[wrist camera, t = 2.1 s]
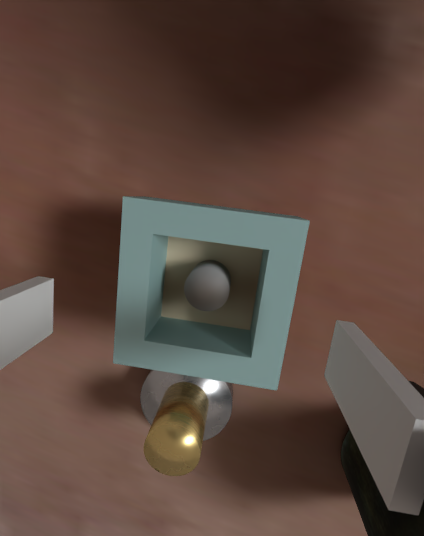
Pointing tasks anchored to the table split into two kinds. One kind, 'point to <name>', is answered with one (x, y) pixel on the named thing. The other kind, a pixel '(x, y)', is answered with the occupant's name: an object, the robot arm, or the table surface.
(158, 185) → the table surface
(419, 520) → the mug
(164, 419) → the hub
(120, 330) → the teal square ring
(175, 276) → the stand
